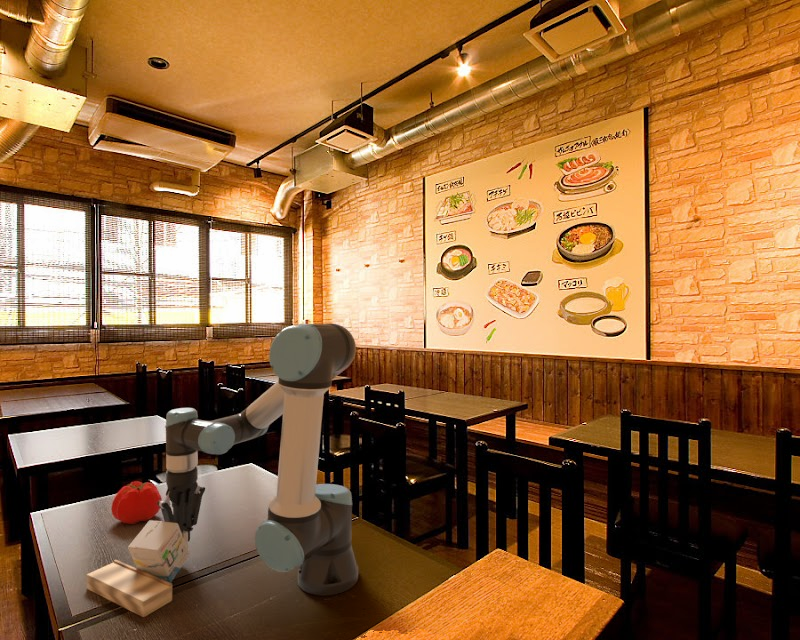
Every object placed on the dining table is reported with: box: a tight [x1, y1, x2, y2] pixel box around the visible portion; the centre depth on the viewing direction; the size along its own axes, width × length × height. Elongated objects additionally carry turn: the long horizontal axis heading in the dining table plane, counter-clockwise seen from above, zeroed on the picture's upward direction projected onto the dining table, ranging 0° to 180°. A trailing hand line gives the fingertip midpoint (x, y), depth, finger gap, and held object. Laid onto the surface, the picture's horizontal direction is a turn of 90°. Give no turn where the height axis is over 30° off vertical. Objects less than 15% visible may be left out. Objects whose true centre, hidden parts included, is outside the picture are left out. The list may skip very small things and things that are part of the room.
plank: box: [86, 559, 173, 618], centre depth 112 cm, size 22×7×4 cm, turn 62°
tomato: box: [110, 480, 163, 525], centre depth 152 cm, size 13×14×12 cm
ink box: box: [127, 519, 190, 583], centre depth 118 cm, size 8×8×12 cm
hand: (182, 555), depth 125 cm, fingers closed
